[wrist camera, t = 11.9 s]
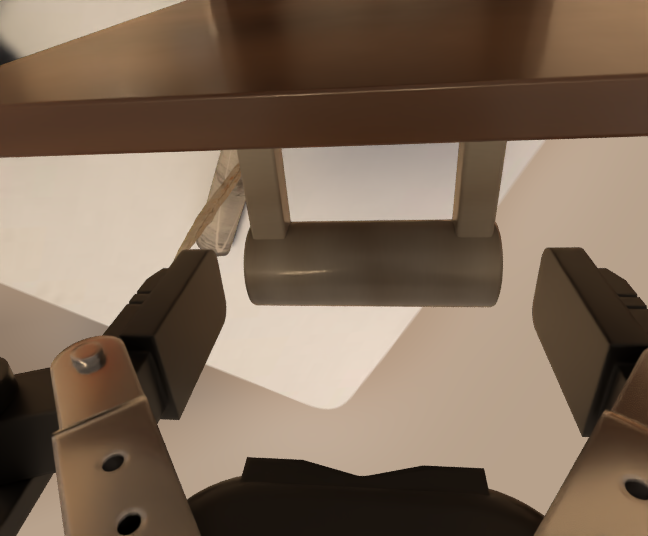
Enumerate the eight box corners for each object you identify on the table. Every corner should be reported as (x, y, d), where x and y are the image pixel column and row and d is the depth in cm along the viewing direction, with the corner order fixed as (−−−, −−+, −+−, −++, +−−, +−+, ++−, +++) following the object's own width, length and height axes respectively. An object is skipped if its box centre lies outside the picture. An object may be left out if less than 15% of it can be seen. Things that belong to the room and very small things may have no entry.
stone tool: (215, 209, 34) (161, 291, 26) (205, 201, 34) (147, 282, 25) (254, 160, 32) (209, 233, 23) (243, 152, 31) (194, 223, 23)
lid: (-136, 111, 7) (13, 355, 10) (1026, 54, 5) (802, 372, 8) (203, -7, 20) (225, 111, 23) (565, -34, 19) (541, 98, 21)
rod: (242, 88, 32) (230, 97, 30) (280, 105, 32) (272, 115, 30) (201, 232, 38) (189, 249, 36) (234, 245, 38) (224, 262, 36)
